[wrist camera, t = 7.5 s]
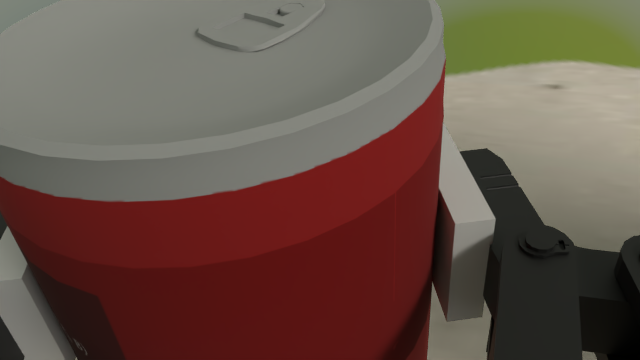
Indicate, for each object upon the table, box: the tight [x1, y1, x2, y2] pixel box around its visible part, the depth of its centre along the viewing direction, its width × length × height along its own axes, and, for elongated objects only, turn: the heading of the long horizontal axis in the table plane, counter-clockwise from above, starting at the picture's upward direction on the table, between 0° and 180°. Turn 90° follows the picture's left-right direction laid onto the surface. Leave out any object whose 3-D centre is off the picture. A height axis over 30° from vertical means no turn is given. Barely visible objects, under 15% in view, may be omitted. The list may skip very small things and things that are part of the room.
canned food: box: [0, 0, 446, 360], centre depth 13 cm, size 8×8×11 cm
